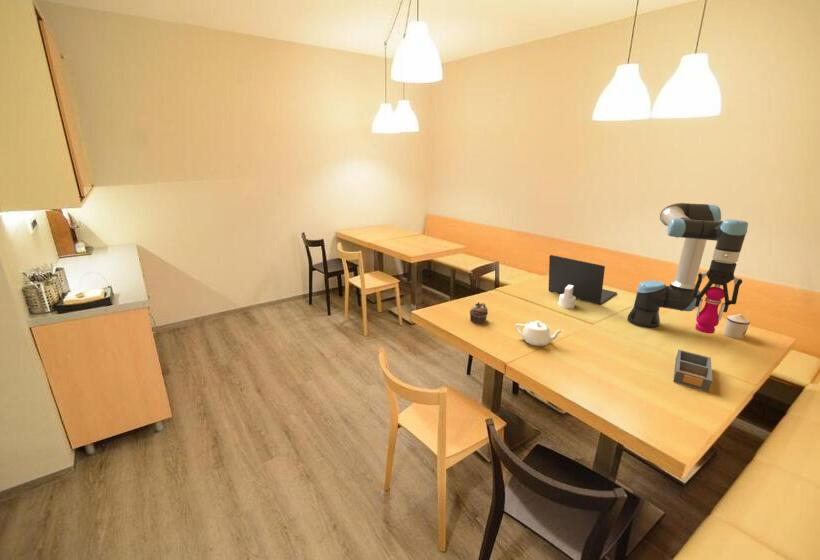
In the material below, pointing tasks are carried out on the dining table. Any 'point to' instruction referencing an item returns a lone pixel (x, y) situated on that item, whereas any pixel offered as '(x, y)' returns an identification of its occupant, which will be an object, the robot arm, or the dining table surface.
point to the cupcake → (478, 313)
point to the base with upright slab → (567, 298)
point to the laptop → (578, 279)
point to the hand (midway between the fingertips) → (708, 316)
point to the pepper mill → (710, 310)
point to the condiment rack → (693, 370)
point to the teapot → (537, 333)
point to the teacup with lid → (736, 326)
